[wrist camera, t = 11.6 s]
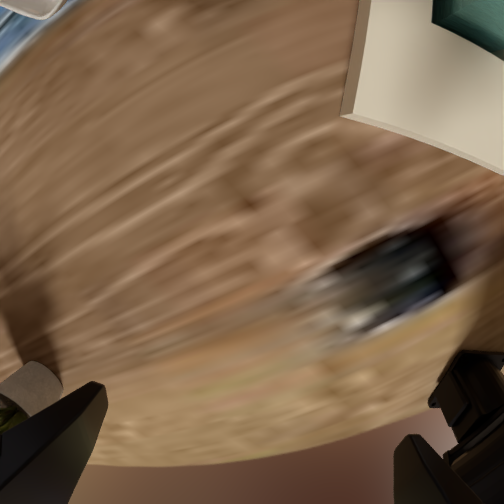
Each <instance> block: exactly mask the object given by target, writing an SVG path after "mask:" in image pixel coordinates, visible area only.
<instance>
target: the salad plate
mask: <svg viewBox="0 0 504 504" xmlns="http://www.w3.org/2000/svg"><path fill="white" fill-rule="evenodd" d="M66 2H67V0H0V6H2V7H5V8H7V9H9V10H12V11H14V12H16V13H19V14H21V15H24V16H27V17H31V18H34V19H38V20H44V19H47V18H49V17H51V16H53V15H54V14H55V13H56V12H58V11H59V10H60V9H61V8H62V7H63V5H64V4H65V3H66Z"/></svg>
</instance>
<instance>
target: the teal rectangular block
mask: <svg viewBox="0 0 504 504" xmlns="http://www.w3.org/2000/svg"><path fill="white" fill-rule="evenodd" d="M431 23H433V24H435V25H437V26H440V27H442V28H444V29H446V30H448V31H450V32H452V33H454V34H456V35H458V36H460V37H462V38H464V39H466V40H468V41H470V42H472V43H473V44H475V45H477V46H479V47H481V48H482V49H484V50H486V51H488V52H489V53H491V52H495V51H499V50H503V49H504V0H433V4H432V19H431Z"/></svg>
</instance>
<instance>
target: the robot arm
mask: <svg viewBox="0 0 504 504" xmlns="http://www.w3.org/2000/svg"><path fill="white" fill-rule="evenodd" d="M462 356H463V357H462ZM503 365H504V353H497V352H482V351H469V350H462V351H461V352H459V353H458V355H457V356H456V358H455V360H454V362H453V363H452V365H451V367H450V368H449V370H448V372H447V373H446V375H445V376H444V378H443V380H442V381H441V383H440V384H439V386H438V387H437V389H436V391H435V392H434V394H433V395H432V397H431V398H430V400H429V401H428V406H429V407H430V408H441V410H442V412H443V415H444V417H445V419H446V422H447V424H448V426H449V427H452V430H453V432H454V435H455V437H456V440H457V442H458V443H459V444H457V445H456V446H455V447H453V448H452V449H451V450H448V451H447V452H445V453H444V454H443V459H442V458H441V457H440V456H439V455H438V454H437V453H436V452H435V450H434V449H433V448H432V447H431V446H430V445H429V444H428V443H427V442H426V441H425V440H424V438H422V437H421V435H419V434H408V435H407V436H405V437H404V439H403V440H402V441H401V442H400V444H399V445H398V446H397V447H396V449H395V451H394V456H393V457H394V487H393V488H394V489H393V490H394V504H504V375H503V374H502V372H501V371H500V370H501V369H502V367H503ZM107 409H108V399H107V393H106V388H105V386H104V385H103V384H100V383H97V382H95V381H91V382H89V383H87V384H85V385H84V386H82V387H80V388H79V389H77V390H75V391H73V392H72V393H70V394H68V395H67V396H65V397H63V398H62V399H60V400H58V401H57V402H55V403H53V404H52V405H50V406H48V407H46V408H45V409H43V410H41V411H40V412H38V413H36V414H34V415H33V416H31V417H29V418H28V419H26V420H24V421H22V422H21V423H19V424H17V425H15V426H14V427H12V428H10V429H8V430H7V431H5V432H3V433H2V434H0V504H68V502H69V500H70V497H71V495H72V493H73V491H74V489H75V487H76V485H77V483H78V480H79V478H80V476H81V474H82V472H83V470H84V468H85V466H86V464H87V462H88V460H89V458H90V456H91V453H92V451H93V449H94V446H95V443H96V440H97V437H98V434H99V431H100V429H101V426H102V423H103V420H104V417H105V415H106V412H107Z"/></svg>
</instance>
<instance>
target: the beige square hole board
mask: <svg viewBox="0 0 504 504" xmlns="http://www.w3.org/2000/svg"><path fill="white" fill-rule="evenodd" d="M432 4H433V0H359V7H358V13H357V20H356V26H355V33H354V39H353V45H352V51H351V57H350V62H349V68H348V74H347V79H346V84H345V90H344V95H343V100H342V105H341V110H340V115H339V116H340V117H344V118H348V119H351V120H355V121H359V122H362V123H366V124H369V125H372V126H376V127H379V128H382V129H386V130H389V131H392V132H395V133H398V134H401V135H404V136H407V137H410V138H413V139H416V140H418V141H421V142H424V143H427V144H429V145H432V146H435V147H437V148H440V149H443V150H445V151H448V152H450V153H453V154H455V155H458V156H460V157H462V158H465V159H467V160H469V161H472V162H474V163H476V164H479V165H481V166H483V167H485V168H487V169H490V170H492V171H494V172H496V173H498V174H500V175H504V49H503V50H499V51H495V52H491V53H489V52H488V51H486V50H484V49H482V48H481V47H479V46H477V45H475V44H473V43H472V42H470V41H468V40H466V39H464V38H462V37H460V36H458V35H456V34H454V33H452V32H450V31H448V30H446V29H444V28H442V27H440V26H437V25H435V24H433V23H431V19H432Z"/></svg>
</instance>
